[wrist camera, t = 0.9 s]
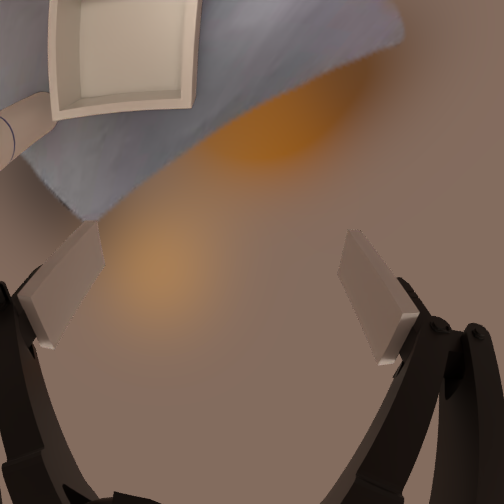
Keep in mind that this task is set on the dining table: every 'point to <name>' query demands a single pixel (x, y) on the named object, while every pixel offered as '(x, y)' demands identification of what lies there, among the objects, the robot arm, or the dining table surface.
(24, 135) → the cylindrical container
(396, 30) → the dining table surface
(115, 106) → the beige bin
